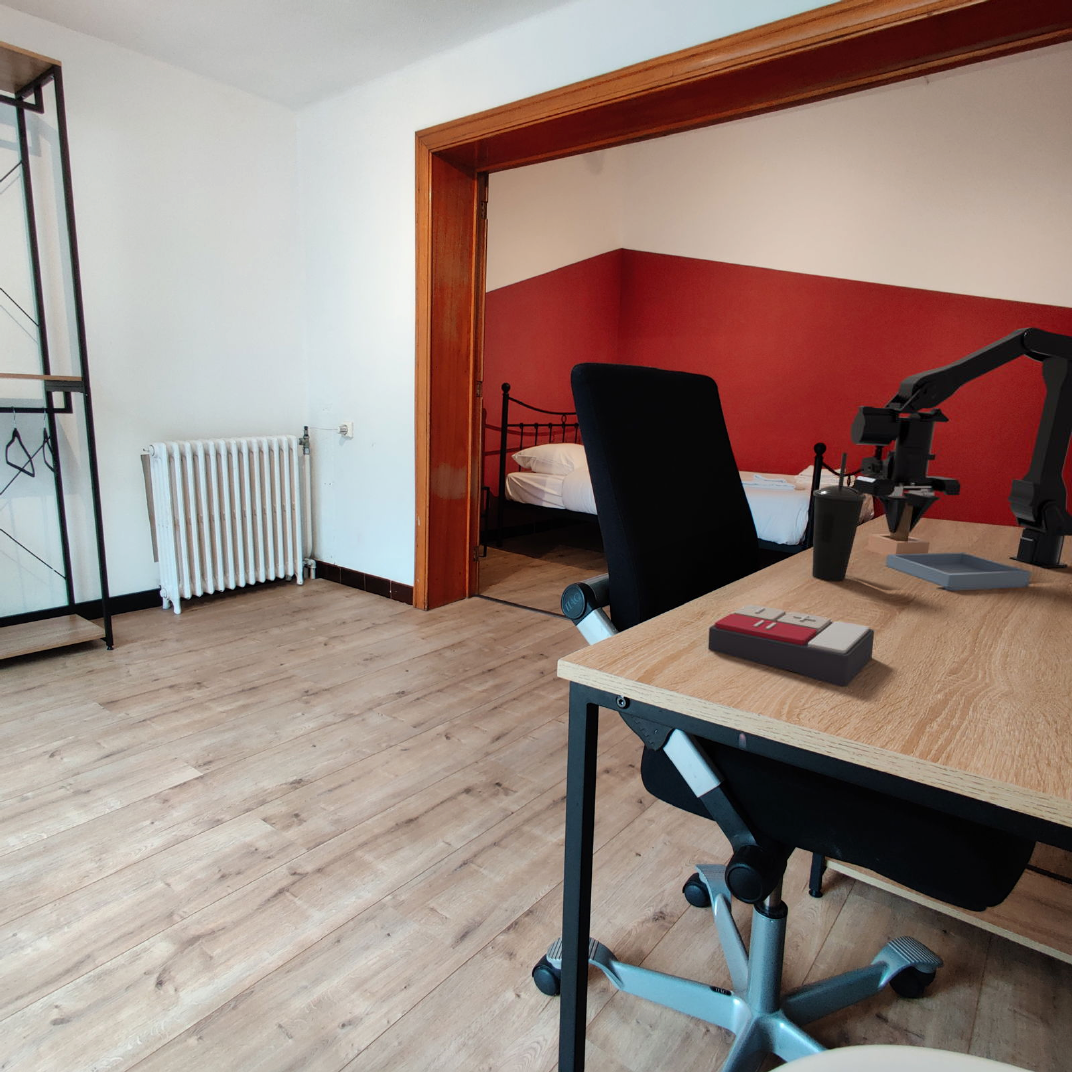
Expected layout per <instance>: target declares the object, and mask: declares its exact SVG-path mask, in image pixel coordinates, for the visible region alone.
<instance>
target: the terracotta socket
mask: <svg viewBox="0 0 1072 1072" xmlns="http://www.w3.org/2000/svg"><path fill="white" fill-rule="evenodd" d="M868 535H869V536H868V540H867V541H868V542H867V549H866V550H867V551H868V552H871V553H874V554H876V555H880V556H882V557H886V558H887V555H890V554H922V553H929V548H930V541H928V540H924V539H920V538H916V537H914V536H913V537H912V536H908V541H896V540H892V539H890V533H879V534H878V533H875V534H874V533H873V534H868Z"/></svg>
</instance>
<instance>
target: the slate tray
mask: <svg viewBox="0 0 1072 1072" xmlns="http://www.w3.org/2000/svg"><path fill="white" fill-rule="evenodd" d="M885 567H886V568H889V569H893V570H895V571H898V572H901V573H904V574H906V575H909V576H913V577H914V578H915V577H916V578H919V579H921V580H923V581H927V582H930V583H932V584H935V585H937V586H938V585H939V586H940V587H939V586H938V587H937V588H938V589H941V590H943V591H946V592H948V591H949V592H951V591H968V590H970V591H971V590H991V589H1010V588H1011V589H1012V588H1015V589H1016V588H1028V587H1029V585H1030V580H1031V579H1030V578H1031V574H1032V571H1030V570H1026V569H1023V568H1019V567H1016V566H1012V565H1009V564H1005V563H1003V562H998V561H994V560H991V559H988V558H984V557H980V556H977V555H974V554H971V553H966V552H962V551H961V552H960V551H959V552H957V551H956V552H955V551H954V552H933V553H932V552H930V553H929V552H928V553H922V554H890V555H887V557H886V560H885Z"/></svg>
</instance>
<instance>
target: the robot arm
mask: <svg viewBox="0 0 1072 1072" xmlns="http://www.w3.org/2000/svg"><path fill="white" fill-rule="evenodd" d="M1022 356H1025V357H1026V358H1029V359H1031V360H1033V361H1036V362H1038V363H1042V366H1041V369H1042V370H1041V374H1042V378H1043V382H1044V386H1045V388H1046V393H1045V398H1044V403H1043V407H1042V411H1041V416H1040V421H1039V424H1038V429H1037V434H1036V438H1035V443H1034V447H1033V451H1032V456H1031V460H1030V464H1029V468H1028V471H1027V472H1026V474H1025V475H1024V476H1023V477H1022V478H1021V479H1016V478H1013V479H1012V481H1011V487H1010V488H1011V489H1010V494H1009V496H1008V498H1007V499H1006V501H1008V502H1009V503H1010V504H1009V508H1010V511H1011V512H1012V513H1013V514H1014V516H1015V521H1016V525H1017V526H1018V527H1019V526H1020V527H1023V529H1022V532H1021V533H1022V534H1021V537H1020V538H1019V541H1018V542H1019V543H1018V547H1017V553H1016V556H1009V558H1008V559H1009V560H1011V561H1012V560H1013V561H1016V562H1020V563H1022V564H1027V565H1029V566H1034V567H1038V568H1041V569H1045V568H1046V569H1048V568H1051V569H1052V568H1068V565H1069V564H1068V563H1064V562H1061V558H1062V551H1063V549H1064V544H1065V543H1064V542H1065V537H1067V536H1068V537H1072V515H1071V514H1070V512H1069V511H1068V509H1067V505H1068V504H1067V503H1068V501H1067V500H1068V491H1067V487H1066V483H1065V480H1064V478H1063V470H1064V467H1065V463H1066V458H1067V454H1068V451H1069V450H1068V449H1069V446H1070V441H1071V438H1072V336H1071V335H1068V334H1067V335H1065V334H1062V333H1056V332H1051V331H1047V330H1043V329H1040V328H1038V327H1033V326H1032V327H1023V328H1018V329H1014V330H1013V331H1012V332H1011V333H1009V334H1007V335H1005V336H1004V337H1002V338H1000V339H998V340H996V341H993V342H992V343H990V344H988V345H985V346H983V347H982V348H980V349H977V350H976V351H974V352H971V353H970V354H968V355H966V356H964V357H962V358H959V359H957V360H956V361H953V362H952V363H950V364H947V365H943V366H942V367H941V366H940V367H937V368H932V369H929V370H925V371H921V372H919V373H915V374H913V375H909V376H907V377H905V378H904V379H903V380H902V381H901V382H900V383H899V384H900V385H899V387H898V391H897V393H895V394H894V396H893V397H892V398H891V399H890V400H889V401H888V402H887V403H886V404H885V405H884V406H883V407H873V406H869V405H867V406H866V405H860V406H858V412H857V413H856V414H855V415H854V416H855V417H854V418H853V421H852V423H851V425H850V439H851V442H852V444H854V445H863V446H864V445H865V446H885V447H886V446H889V445H891V443H892V442H895V443H894V450H889V451H888V452H887V455H886V459H883V460H878V459H877V457H875V456H867V457H863V458H862V459H861V463H860V464H861V465H860V473H861V475H858V476H857V477H856V478H855V479H854V481H853V484H852V485H853V487H852V488H853V489H855V490H857V491H859V492H860V493H862V494H864V495H870V496H872V497H876V498H877V499H878V500H879V502H881V505H882V507H883V508H882V509H883V510H884V514H885V520H886V524H887V527H888V531H889V533H890V532H891V533H895V532H896V530H897V528H898V526H899V523H900V520H901V517H902V514H903V511H904V508H905V505H910V506H913V511H912V517H911V524H910V530H909V534H910V533H911V532H912V531H913V530H914V528H915V527H916V525H917V524H918V523H919V521H920V520H921V519H922V518H923V516H924V515H925V513H927V511H929V509H930V508H931V507H932V505H933V504H935V502H936V501H939V500H940V499H941V497H940V496H935V491H936V492H940V493H943V494H944V495H945V496H960V492H961V486H962V485H961V483H960V482H959V480H958V479H957V478H950V477H944V476H937V475H934V476H933V475H928V472H929V462H930V461H935V460H936V453H931V451H932V444H933V439H934V432H935V426H936V423H948V422H950V419H949V417H948V416H946V414H944V412H942V409H941V408H938V406H939V405H941V404H943V403H944V402H945V401H947V400H948V399H950V398H951V397H952V396H953V395H954V394H956V392H957V391H958V390H959V389H960V388H961V387H962V386H964V385H966V384H968V383H969V382H971V381H973V380H975V379H977V378H979V377H981V376H983V375H985V374H987V373H989V372H991V371H994V370H996V369H998V368H1000V367H1002V366H1004V365H1006V364H1008V363H1010V362H1013V361H1014V360H1016V359H1017V358H1019V357H1022ZM923 409H925V410H926V409H927V410H928V409H930V410H929V411H921V410H923ZM901 414H906V415H908V416H900V415H901Z"/></svg>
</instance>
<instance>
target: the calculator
mask: <svg viewBox="0 0 1072 1072" xmlns="http://www.w3.org/2000/svg"><path fill="white" fill-rule="evenodd" d="M786 612H787V611H786V610H785V609H780V608H774V607H769V606H763V605H758V604H757V605H756V604H750V603H748V604H746V605H744V606H743V607H740V608H738V609H737V610H735V611H734V612H733V613H729V614H727V615H726V616H723V617H722V618H721V619H719V620H717V621H715V622H714V624H713V625H711V626H710V627H709V628H708V629H709V630H708V642H707V643H708V645H707V646H708V647H707V648H708V650H710V651H713V652H716V653H721V654H723V655H727V656H730V657H734V658H737V659H741V660H746V661H749V662H752V663H755V664H758V665H759V664H760V665H763V666H767V667H772V668H775V669H776V668H777V669H780V670H785V671H789V672H793V673H797V674H800V675H801V676H803V677H806V678H809V679H813V680H816V681H820V682H823V683H827V684H831V685H834V686H838V687H842V688H845V687H847V686H849V684H850V683H852V681H853V680H854V679H855V678H856V677H857V675H858V674H859V673H860V672H861V671H862V670H863V669H864V668H865V666H867V665H868V664H869V662H870V661H871V660H873V658H872V657H873V650H874V638H875V637H874V636H875V630H874V629H871V628H870V627H869V626H867V625H861V624H857V623H856V624H855V623H850V622H849V623H848V622H845V621H839V620H837V621H836V620H835V621H834V622H833V621H831V618H830V617H825V616H819V615H813V614H807V613H802V612H797V611H789V612H787V613H786Z"/></svg>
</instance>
